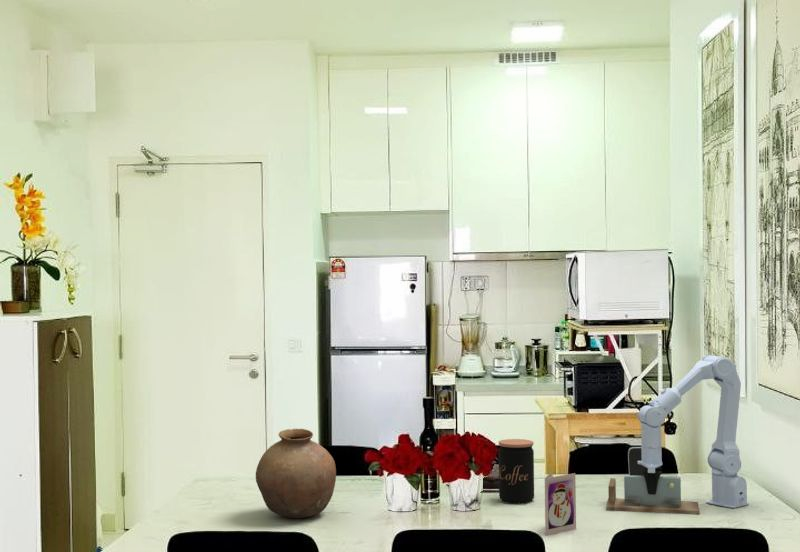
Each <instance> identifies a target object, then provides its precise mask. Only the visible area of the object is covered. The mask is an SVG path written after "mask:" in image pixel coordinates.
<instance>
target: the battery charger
mask: <svg viewBox="0 0 800 552" xmlns="http://www.w3.org/2000/svg"><path fill="white" fill-rule="evenodd" d="M638 461H642V450H641V446H631V447H629V448H628V450H627V462H628V475H634V476H644V475H643V474H642V468H643V467H645V466H643V465H641V464H638Z"/></svg>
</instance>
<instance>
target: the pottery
mask: <svg viewBox="0 0 800 552" xmlns="http://www.w3.org/2000/svg"><path fill="white" fill-rule="evenodd" d="M313 436H314V433H313V432H312V431H311V430H308V429H306V428H292V429H291V428H287V429H284V430H281V431H279V433H278V437H279V438H280V439H281V440H279V441H277V442H275V443H274V444H272V445H270V447H268V448H267V449H266V450H265V451H264V453H263V455H262V456H261V458H260V460H259V462H258V464H257V466H256V471H255V482H256V484H257V487H258V490H259V491H260V494H261V497H262V498H263V502H264V504H265V506H266V507H267V509H268V510H269V511H270V512H272V513H274V514H275V515H278V516H280V517H283V518H290V519H305V518H309V517H313V516H316V515H319V514H320V513H322V512H324V510H325V509H326V508H327V507H328V505H329V503H330V502H331V500H332V497H333V495H334V491H335V486H336V479H337V468H336V463H335V462H336V461H335V460H334V457H333V456H332V455H331V454H330V452H329V451H328V450H327V449H326V448H324V447H323V446H322V445H320V444H319V443H318V442H316V441H313V440H311V439H312V438H313Z"/></svg>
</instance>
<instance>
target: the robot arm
mask: <svg viewBox="0 0 800 552" xmlns="http://www.w3.org/2000/svg"><path fill="white" fill-rule="evenodd" d="M710 379H712V380H714V382H716V384H718V386H719V387H720V388H721V389H720V397H719V398H720V399H719V408H718V409H719V410H718V420H717V427H716V439H715V440H714V441H713V442H712V444H711V450H710V452H709V453H708V455H707V464H708V466H709V467H710V468H711V500H707V501H705V503H706V504H709V505H710V504H711V505H714V506H720V507H726V508H731V509H735V508H739V507H740V508H741V507H743V506H744V507H745V506H748V505H749V502H748V492H747V491H748V488H747V485H748V484H747V480H746V479H745V477H743V476H740V475H739V472H740V470H741V468H742V460H741V457H740V449H739V447H738V445H737V443H736V439H737V428H738V418H739V408H740V407H739V406H740V398H741V397H740V396H741V387H742V382H741V380H740V377H739V375H738V372H737V364H736V363H735V362H734V361H732V359H731V358H729V357H728V356H727V357H726V356H718V355H714V354H706V355H704V356H703V357H702V358H701V359H700V360H698V361H697V362H696V363H695V364H694V366H693V368H691V369H690V371H689V372H688V373H686V374H685V375H684V376H683V377H682V379H680V380H679V381H678V383H676V384H675V386H673V387H666V388H662V389H661V390H659V392H660V393H659V395H657V396H656V397H655V398H654V399H653V400H650V401H649V402H648V405H643V406H642V407H641V408H640V409H639V412H638V414H637V415H636V416H637V419H638V421H639V423H640V426H641V427H640V429H641V431H640V435H641V436H640V437H641V438H640V440H641V444H640V447H641V450H642V461H638V464H641V465H643V466H645V467H643V468H642V474H643V475H644V478H645V481H646V485H647V491H648V494H652V495H656V491H657V485H658V480H659V477H660V476H661V475H662V473H663V471H662V470H663V469H662V467H661V466H663V461H662V458H663V457H662V425H663V424H664V422H665V420H666V416H667V415H669V414H670V413H671V412H672V411H673V410H674V409H675V408H676V407H677V406H679V405H680V404H682V403H681V402H682V397H683V396H684V395H685V394H686V393H688V392H689V391H690V390H692V388H694V387H695V386H696V385H697V384H699V383H700V382H701V381H705V380H710Z"/></svg>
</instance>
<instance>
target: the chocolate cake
mask: <svg viewBox="0 0 800 552" xmlns="http://www.w3.org/2000/svg"><path fill="white" fill-rule="evenodd" d="M493 464H494V466H493V469H492V473H491V476H490V477H484V478H483V492H482V493H499V463H498V464H496V463H493Z"/></svg>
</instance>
